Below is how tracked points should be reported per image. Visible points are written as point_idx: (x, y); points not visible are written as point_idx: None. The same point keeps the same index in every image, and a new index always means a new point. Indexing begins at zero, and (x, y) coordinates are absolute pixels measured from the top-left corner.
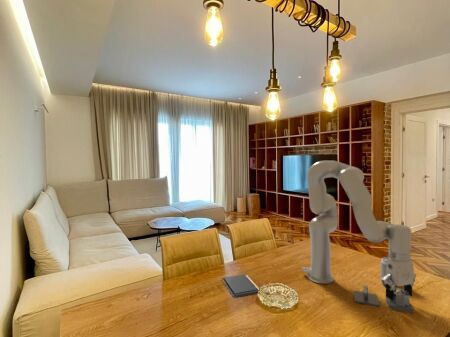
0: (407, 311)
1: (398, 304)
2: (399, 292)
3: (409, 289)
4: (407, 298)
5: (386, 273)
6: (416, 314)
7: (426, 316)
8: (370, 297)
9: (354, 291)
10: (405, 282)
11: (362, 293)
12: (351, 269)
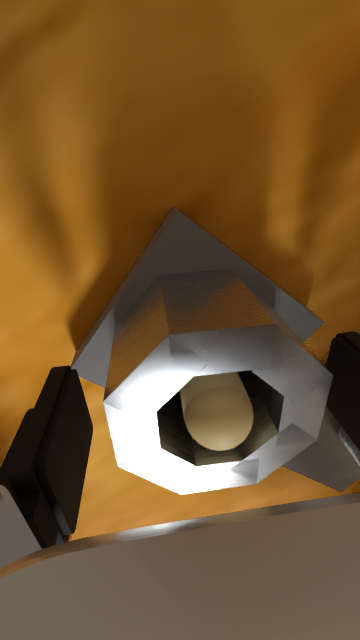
0: (211, 235)
1: (266, 302)
2: (243, 406)
3: (59, 441)
4: (204, 309)
5: None
6: (158, 181)
7: (81, 120)
8: (322, 427)
9: (346, 483)
10: (353, 608)
11: (322, 465)
12: None
